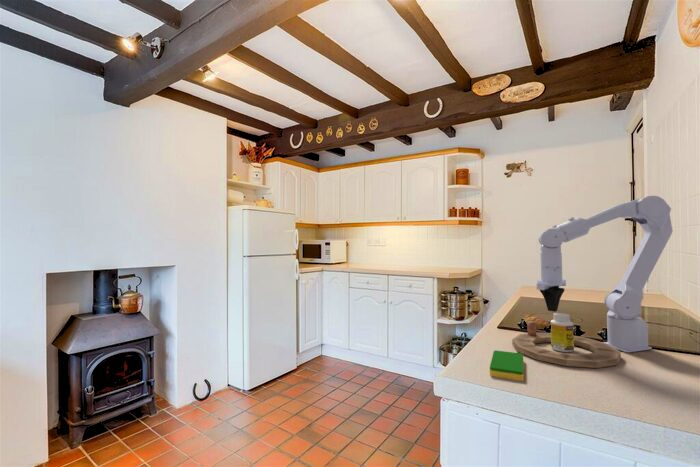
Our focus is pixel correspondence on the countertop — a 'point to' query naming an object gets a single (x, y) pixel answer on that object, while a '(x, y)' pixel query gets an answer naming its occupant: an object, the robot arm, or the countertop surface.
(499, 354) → the dish sponge
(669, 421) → the countertop surface
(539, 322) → the pastry
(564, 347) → the supplement bottle
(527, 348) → the faceted tan ring
